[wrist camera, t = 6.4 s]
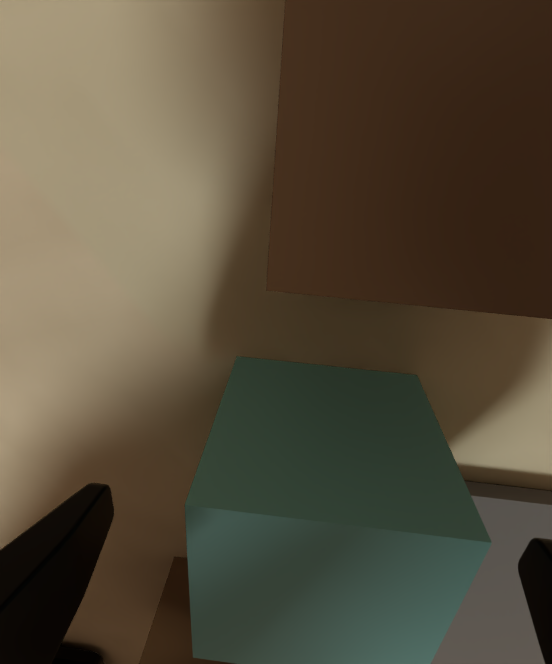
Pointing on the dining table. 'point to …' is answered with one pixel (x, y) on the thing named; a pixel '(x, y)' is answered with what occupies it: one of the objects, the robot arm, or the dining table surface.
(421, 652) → the teal cube
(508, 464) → the dining table surface
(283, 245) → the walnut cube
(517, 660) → the slate tile
